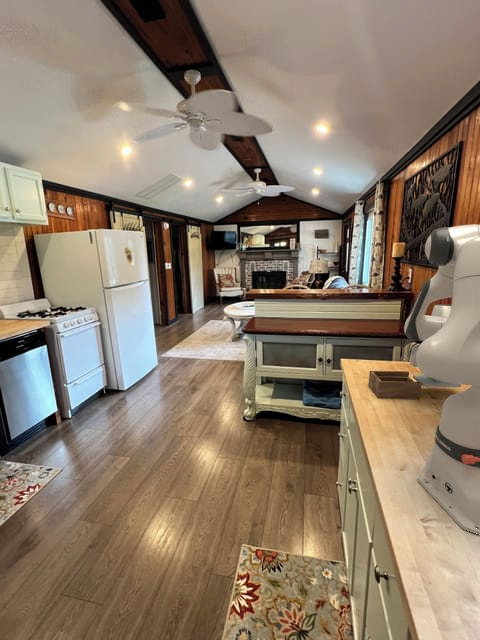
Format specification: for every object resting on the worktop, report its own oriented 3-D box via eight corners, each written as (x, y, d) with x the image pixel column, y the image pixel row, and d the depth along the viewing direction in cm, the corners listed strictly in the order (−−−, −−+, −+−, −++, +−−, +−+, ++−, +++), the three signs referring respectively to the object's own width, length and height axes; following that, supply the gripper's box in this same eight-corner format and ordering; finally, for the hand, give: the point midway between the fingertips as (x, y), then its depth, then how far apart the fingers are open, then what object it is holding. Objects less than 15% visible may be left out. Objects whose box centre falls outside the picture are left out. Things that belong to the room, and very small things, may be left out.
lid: (460, 387, 121) (463, 375, 119) (422, 386, 121) (424, 374, 120) (448, 378, 129) (450, 366, 127) (412, 377, 129) (414, 366, 128)
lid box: (419, 399, 121) (421, 382, 120) (378, 398, 122) (379, 382, 120) (406, 386, 132) (408, 371, 130) (368, 385, 133) (369, 370, 131)
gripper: (416, 346, 118) (412, 379, 122) (471, 347, 117) (465, 380, 121) (408, 341, 124) (404, 372, 128) (460, 341, 123) (455, 373, 127)
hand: (434, 376), depth 124 cm, fingers closed on lid
